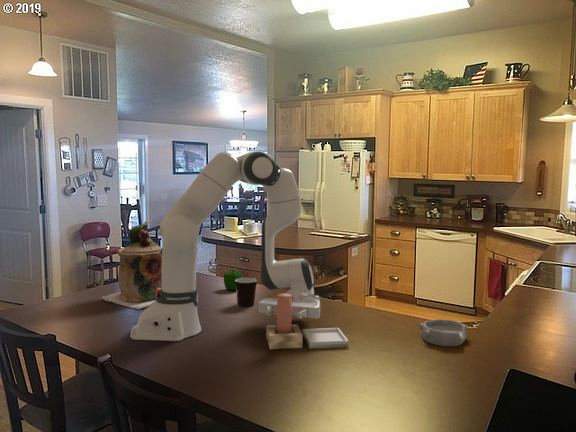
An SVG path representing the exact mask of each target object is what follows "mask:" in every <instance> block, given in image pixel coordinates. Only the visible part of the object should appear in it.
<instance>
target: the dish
mask: <svg viewBox="0 0 576 432" xmlns="http://www.w3.org/2000/svg"><path fill="white" fill-rule="evenodd" d="M419 326H420V327H419V329H420V330H421V331H422V332H421V334H422V338H423V340H424V341H425V342H427V343H429V344H432V345H436V346H441V347H457V346H461V345H462V344H463V343H465V340H466V337H467V330H468V328H467V325H466V324H464V323H462V322H459V321H456V320H451V319H443V318H442V319H431V320H430V319H429V320H425V321H424V322H421V323H420V325H419Z"/></svg>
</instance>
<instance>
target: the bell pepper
mask: <svg viewBox="0 0 576 432" xmlns="http://www.w3.org/2000/svg"><path fill="white" fill-rule="evenodd" d="M237 270H238V269H237V268H233V269H232V271H225V272H224V273H223V284H224V288H225V289H226V290H227V291H230V290H231V291H232V292H233V291H234V292H236V284H235V280H236V279H239V278H243V274H242V273H241V272H240V271H237Z"/></svg>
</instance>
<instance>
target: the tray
mask: <svg viewBox="0 0 576 432" xmlns="http://www.w3.org/2000/svg"><path fill="white" fill-rule="evenodd" d="M302 334H303V338H304V341H305V343H306V344H307V347H308V349H309V350H310V349H313V350H314V349H330V348H332V349H334V348H335V349H336V348H337V349H338V348H348V347H349V339H348V338H347V336H346V335H345V334H344V333H343V331H342V330H341V329H340V328H339V327H326V328H325V327H321V328H302Z"/></svg>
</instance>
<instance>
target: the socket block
mask: <svg viewBox="0 0 576 432" xmlns="http://www.w3.org/2000/svg"><path fill="white" fill-rule="evenodd" d="M265 335H266V338H265V339H266V341H267V345H268V348H269V350H275V349H276V350H278V349H281V350H282V349H283V350H284V349H300V348H301V349H303V348H304V347H303V343H304V342H303V338H304V337H303V331H302V330H301V329H300V327H299V324H298V323H296V324H294V323H293V324H292V323H291V333H282V334H277V324H272V325H270V324H267V325H266V333H265Z"/></svg>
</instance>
